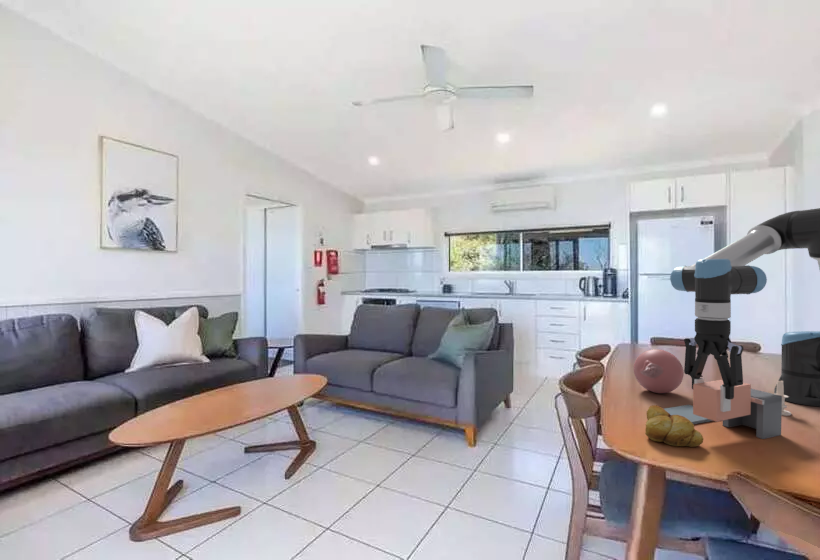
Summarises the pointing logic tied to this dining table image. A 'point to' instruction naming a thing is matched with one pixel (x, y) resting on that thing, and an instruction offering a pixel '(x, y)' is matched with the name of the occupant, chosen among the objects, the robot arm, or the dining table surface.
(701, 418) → the mat
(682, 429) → the bread roll
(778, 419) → the box
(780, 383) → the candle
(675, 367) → the balloon
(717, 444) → the dining table surface
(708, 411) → the salmon pink rectangular block
